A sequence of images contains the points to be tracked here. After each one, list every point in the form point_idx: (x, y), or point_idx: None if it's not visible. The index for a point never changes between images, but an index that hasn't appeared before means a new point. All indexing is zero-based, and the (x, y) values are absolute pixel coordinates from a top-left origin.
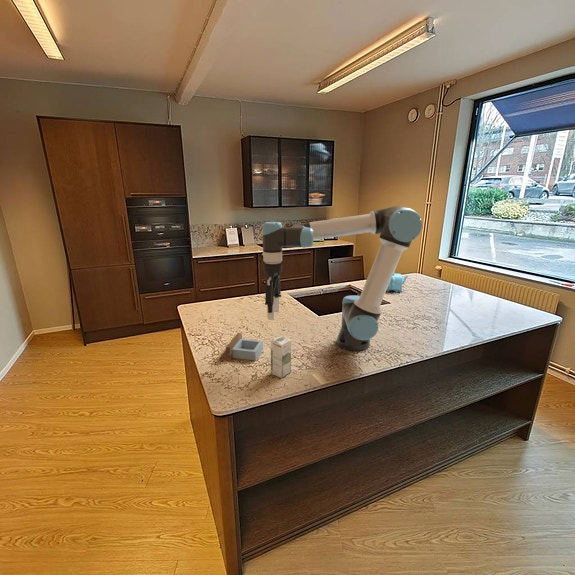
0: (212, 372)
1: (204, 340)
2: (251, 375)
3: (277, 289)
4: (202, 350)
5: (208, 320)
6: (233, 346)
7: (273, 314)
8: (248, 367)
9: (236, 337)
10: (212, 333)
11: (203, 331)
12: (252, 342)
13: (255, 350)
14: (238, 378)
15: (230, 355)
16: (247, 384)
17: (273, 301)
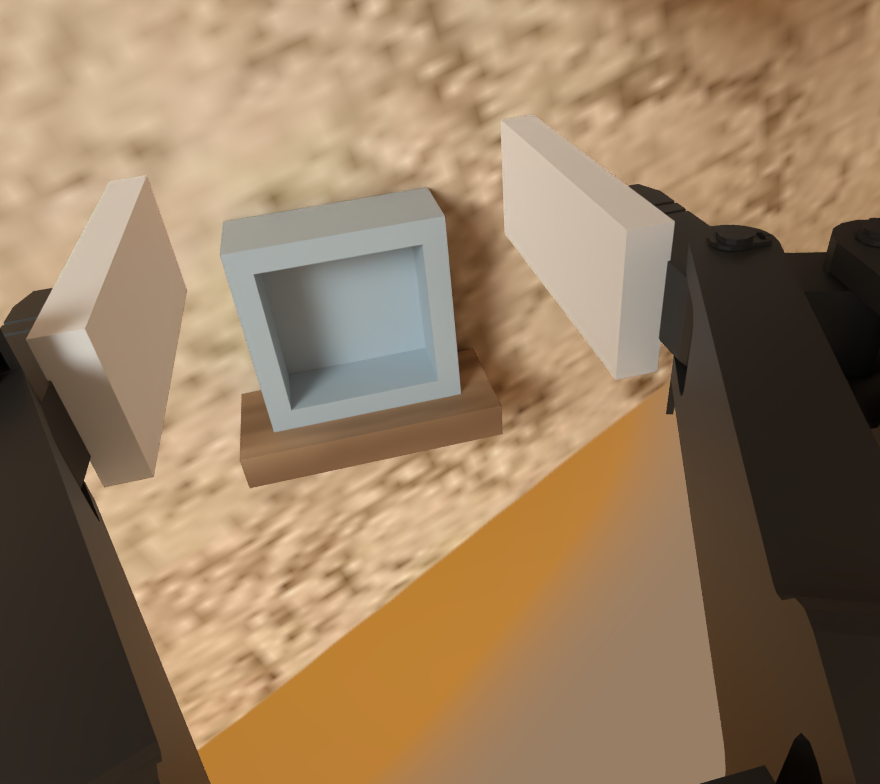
0: None
1: (299, 603)
2: (627, 116)
3: (100, 563)
4: (415, 542)
5: None
6: (433, 404)
7: (574, 150)
8: None
9: (329, 455)
10: (190, 626)
11: (196, 672)
12: (268, 326)
13: (421, 226)
14: (672, 186)
15: (482, 369)
16: (735, 89)
17: (694, 272)
